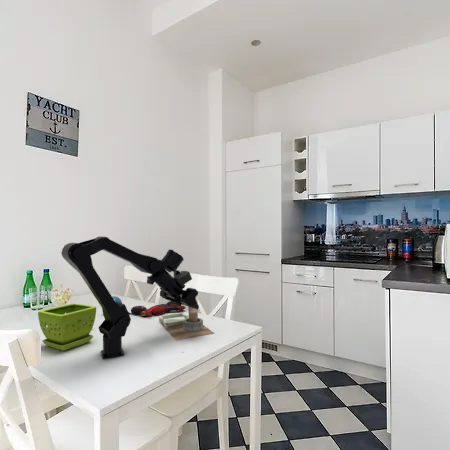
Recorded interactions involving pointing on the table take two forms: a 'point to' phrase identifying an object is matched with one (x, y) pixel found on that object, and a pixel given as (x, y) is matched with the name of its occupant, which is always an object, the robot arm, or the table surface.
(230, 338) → the table surface
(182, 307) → the toy motorcycle
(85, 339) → the flower pot
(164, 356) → the table surface
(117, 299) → the ball
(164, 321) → the stand
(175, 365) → the table surface
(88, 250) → the robot arm
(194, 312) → the dowel
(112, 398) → the table surface
